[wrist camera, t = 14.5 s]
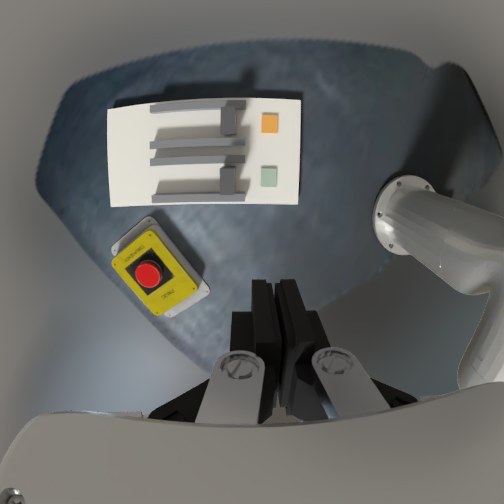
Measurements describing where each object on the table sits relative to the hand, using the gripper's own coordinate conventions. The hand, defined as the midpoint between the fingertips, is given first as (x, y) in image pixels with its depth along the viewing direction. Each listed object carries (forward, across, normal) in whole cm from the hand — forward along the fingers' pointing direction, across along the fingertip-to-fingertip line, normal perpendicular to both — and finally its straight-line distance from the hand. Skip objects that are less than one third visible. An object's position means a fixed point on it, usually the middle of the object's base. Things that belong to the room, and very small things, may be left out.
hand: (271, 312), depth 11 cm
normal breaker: (+27, +3, -2) cm, 28 cm away
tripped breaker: (+27, +3, -10) cm, 29 cm away
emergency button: (+30, +14, +11) cm, 35 cm away
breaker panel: (+29, +7, -6) cm, 31 cm away
